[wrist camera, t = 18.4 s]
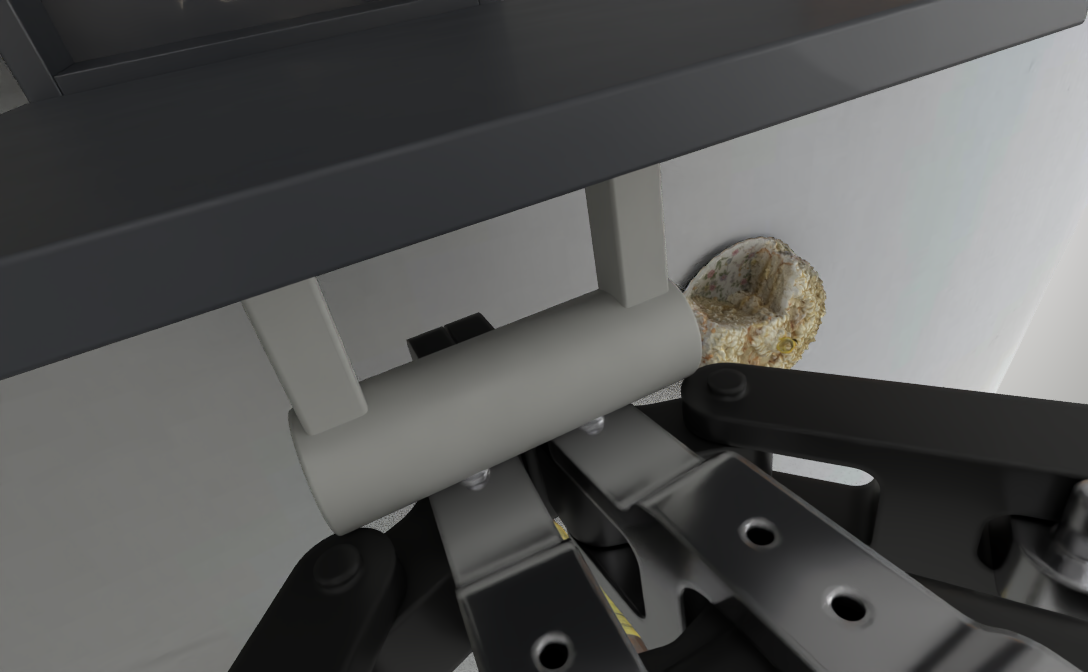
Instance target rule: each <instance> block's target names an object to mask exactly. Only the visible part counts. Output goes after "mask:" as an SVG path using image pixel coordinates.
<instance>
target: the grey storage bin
mask: <svg viewBox="0 0 1088 672" xmlns="http://www.w3.org/2000/svg"><path fill="white" fill-rule="evenodd" d="M497 1H502V0H0V54H1V56H2V57H3V59H4V61H5V62H6V64H7V66H8V67H9V69H10V71H11V72H12V74H13V76H14V77H15V79H16V81H17V82H18V84H19V86H20V87H21V89H22V91H23V92H24V94H25V96H26V97H27V99H28V101H29V102H30V103H32V102H37V101H41V100H46V99H51V98H55V97H60V96H64V95H69V94H74V93H78V92H83V91H87V90H92V89H97V88H101V87H106V86H110V85H115V84H120V83H124V82H129V81H133V80H138V79H143V78H147V77H152V76H156V75H161V74H166V73H170V72H175V71H179V70H184V69H189V68H193V67H198V66H202V65H207V64H212V63H216V62H221V61H225V60H230V59H235V58H239V57H244V56H248V55H253V54H258V53H262V52H267V51H271V50H276V49H281V48H285V47H290V46H294V45H299V44H304V43H308V42H313V41H317V40H322V39H327V38H331V37H336V36H340V35H345V34H350V33H354V32H359V31H364V30H368V29H373V28H377V27H382V26H387V25H391V24H396V23H400V22H405V21H410V20H414V19H419V18H423V17H428V16H433V15H437V14H442V13H446V12H451V11H456V10H460V9H465V8H469V7H474V6H479V5H483V4H488V3H492V2H497Z"/></svg>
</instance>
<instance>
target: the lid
mask: <svg viewBox="0 0 1088 672" xmlns="http://www.w3.org/2000/svg"><path fill="white" fill-rule="evenodd" d="M1087 11H1088V0H502V1H497V2H492V3H488V4H483V5H479V6H474V7H469V8H465V9H460V10H456V11H451V12H446V13H442V14H437V15H433V16H428V17H423V18H419V19H414V20H410V21H405V22H400V23H396V24H391V25H387V26H382V27H377V28H373V29H368V30H364V31H359V32H354V33H350V34H345V35H340V36H336V37H331V38H327V39H322V40H317V41H313V42H308V43H304V44H299V45H294V46H290V47H285V48H281V49H276V50H271V51H267V52H262V53H258V54H253V55H248V56H244V57H239V58H235V59H230V60H225V61H221V62H216V63H212V64H207V65H202V66H198V67H193V68H189V69H184V70H179V71H175V72H170V73H166V74H161V75H156V76H152V77H147V78H143V79H138V80H133V81H129V82H124V83H120V84H115V85H110V86H106V87H101V88H97V89H92V90H87V91H83V92H78V93H74V94H69V95H64V96H60V97H55V98H51V99H46V100H41V101H37V102H32V103H28V104H25V105H22V106H20V107H18V108H15V109H13V110H10V111H8V112H5V113H3V114H1V115H0V380H3V379H6V378H9V377H12V376H15V375H18V374H21V373H24V372H27V371H30V370H33V369H36V368H39V367H42V366H46V365H49V364H52V363H55V362H58V361H61V360H64V359H67V358H70V357H73V356H76V355H79V354H82V353H85V352H88V351H91V350H94V349H97V348H100V347H103V346H106V345H109V344H112V343H115V342H118V341H121V340H124V339H127V338H130V337H134V336H137V335H140V334H143V333H146V332H149V331H152V330H155V329H158V328H161V327H164V326H167V325H170V324H173V323H176V322H179V321H182V320H185V319H188V318H191V317H194V316H197V315H200V314H203V313H206V312H209V311H212V310H215V309H218V308H222V307H225V306H228V305H231V304H234V303H237V302H240V301H241V304H242V306H243V308H244V310H245V312H246V314H247V316H248V318H249V320H250V322H251V324H252V326H253V328H254V330H255V332H256V334H257V336H258V338H259V340H260V342H261V344H262V346H263V348H264V350H265V352H266V354H267V356H268V358H269V360H270V362H271V364H272V366H273V368H274V370H275V372H276V374H277V376H278V378H279V380H280V382H281V384H282V386H283V388H284V390H285V392H286V395H287V397H288V399H289V401H290V403H291V405H292V407H293V408H292V409H291V410H290V411H289V413H288V421H289V427H290V432H291V436H292V439H293V443H294V446H295V450H296V453H297V456H298V459H299V461H300V464H301V467H302V470H303V472H304V475H305V478H306V480H307V483H308V485H309V487H310V490H311V492H312V494H313V497H314V499H315V501H316V503H317V505H318V507H319V509H320V511H321V513H322V515H323V517H324V519H325V521H326V522H327V524H328V525H329V527H330V528H331V530H332V531H333V532H334V533H335V534H336V535H338V536H343V535H345V534H347V533H349V532H351V531H354V530H356V529H358V528H360V527H362V526H364V525H367V524H369V523H371V522H373V521H375V520H378V519H380V518H382V517H384V516H386V515H388V514H391V513H393V512H395V511H397V510H399V509H402V508H404V507H406V506H408V505H410V504H412V503H415V502H417V501H419V500H421V499H423V498H425V497H428V496H430V495H432V494H434V493H436V492H439V491H441V490H443V489H445V488H447V487H449V486H452V485H454V484H456V483H458V482H460V481H463V480H465V479H466V478H468V477H470V476H472V475H474V474H476V473H478V472H481V471H483V470H486V469H489V468H491V467H493V466H495V465H497V464H500V463H502V462H504V461H506V460H508V459H510V458H513V457H515V456H517V455H519V454H521V453H524V452H526V451H528V450H530V449H532V448H534V447H537V446H539V445H541V444H543V443H545V442H548V441H550V440H552V439H554V438H556V437H558V436H561V435H563V434H565V433H567V432H569V431H571V430H574V429H576V428H578V427H580V426H582V425H584V424H586V423H588V422H590V421H592V420H594V419H596V418H599V417H601V416H604V415H606V414H609V413H611V412H613V411H615V410H617V409H619V408H622V407H624V406H626V405H628V404H630V403H632V402H635V401H637V400H639V399H641V398H643V397H646V396H648V395H650V394H652V393H654V392H656V391H659V390H661V389H663V388H665V387H667V386H670V385H672V384H674V383H676V382H678V381H680V380H683V379H685V378H687V377H689V376H691V375H692V374H694V373H695V371H696V370H697V369H698V367H699V365H700V362H701V358H702V341H701V335H700V330H699V326H698V323H697V320H696V318H695V315H694V313H693V310H692V308H691V306H690V304H689V303H688V301H687V299H686V297H685V296H684V295H683V293H682V292H681V290H680V289H679V288H678V287H677V285H676V284H675V283H674V282H673V281H672V280H670V279H669V278H668V272H667V258H666V243H665V228H664V214H663V199H662V184H661V170H660V163H661V162H665V161H668V160H671V159H674V158H677V157H680V156H683V155H686V154H689V153H692V152H695V151H698V150H701V149H704V148H707V147H710V146H713V145H716V144H719V143H722V142H725V141H728V140H731V139H734V138H737V137H740V136H743V135H746V134H749V133H753V132H756V131H759V130H762V129H765V128H768V127H771V126H774V125H777V124H780V123H783V122H786V121H789V120H792V119H795V118H798V117H801V116H804V115H807V114H810V113H813V112H816V111H819V110H822V109H825V108H828V107H831V106H834V105H837V104H841V103H844V102H847V101H850V100H853V99H856V98H859V97H862V96H865V95H868V94H871V93H874V92H877V91H880V90H883V89H886V88H889V87H892V86H895V85H898V84H901V83H904V82H907V81H910V80H913V79H916V78H919V77H922V76H925V75H929V74H932V73H935V72H938V71H941V70H944V69H947V68H950V67H953V66H956V65H959V64H962V63H965V62H968V61H971V60H974V59H977V58H980V57H983V56H986V55H989V54H992V53H995V52H998V51H1001V50H1004V49H1007V48H1010V47H1013V46H1017V45H1020V44H1023V43H1026V42H1029V41H1032V40H1035V39H1038V38H1041V37H1044V36H1047V35H1050V34H1053V33H1056V32H1059V31H1062V30H1065V29H1068V28H1071V27H1074V26H1077V25H1080V24H1082V23H1083V22H1084V20H1085V19H1086V15H1087ZM583 188H585V193H586V200H587V207H588V214H589V222H590V229H591V236H592V244H593V251H594V258H595V266H596V273H597V280H598V287H599V289H597V290H595V291H592V292H590V293H587V294H584V295H582V296H579V297H577V298H574V299H572V300H569V301H566V302H564V303H561V304H559V305H556V306H553V307H551V308H548V309H546V310H543V311H541V312H538V313H535V314H533V315H530V316H528V317H525V318H523V319H520V320H517V321H515V322H512V323H510V324H507V325H504V326H502V327H499V328H497V329H494V330H492V331H489V332H486V333H484V334H481V335H479V336H476V337H474V338H471V339H468V340H466V341H463V342H461V343H458V344H456V345H453V346H450V347H448V348H445V349H443V350H440V351H437V352H435V353H432V354H430V355H427V356H425V357H422V358H419V359H417V360H414V361H412V362H409V363H407V364H404V365H401V366H399V367H396V368H394V369H391V370H388V371H386V372H383V373H381V374H378V375H376V376H373V377H370V378H368V379H365V380H363V381H360V382H359V381H358V379H357V377H356V374H355V372H354V369H353V367H352V364H351V362H350V359H349V357H348V355H347V352H346V350H345V347H344V345H343V342H342V340H341V337H340V335H339V333H338V330H337V328H336V325H335V323H334V320H333V318H332V316H331V313H330V311H329V308H328V306H327V303H326V301H325V298H324V296H323V294H322V291H321V289H320V286H319V284H318V281H317V279H316V276H319V275H322V274H325V273H328V272H331V271H334V270H337V269H340V268H343V267H346V266H349V265H352V264H355V263H358V262H361V261H364V260H367V259H370V258H373V257H376V256H379V255H382V254H385V253H388V252H391V251H394V250H398V249H401V248H404V247H407V246H410V245H413V244H416V243H419V242H422V241H425V240H428V239H431V238H434V237H437V236H440V235H443V234H446V233H449V232H452V231H455V230H458V229H461V228H464V227H467V226H470V225H473V224H476V223H479V222H482V221H486V220H489V219H492V218H495V217H498V216H501V215H504V214H507V213H510V212H513V211H516V210H519V209H522V208H525V207H528V206H531V205H534V204H537V203H540V202H543V201H546V200H549V199H552V198H555V197H558V196H561V195H564V194H567V193H570V192H573V191H577V190H580V189H583Z"/></svg>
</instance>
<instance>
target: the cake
mask: <svg viewBox="0 0 1088 672" xmlns="http://www.w3.org/2000/svg"><path fill="white" fill-rule="evenodd" d="M822 283H823V281H822V280H821V279H820V278H819V277H818V272H817V271H815V270H813V267H812V266H810V263H808V262H807V261H805V260H802V259H801V257H798V256H796V254H795V253H794V251H792V249H790V248H789V246H788V245H787V244H785V243H783V242H782V241H781V240H779V239H778V240H777V239H774V237H767V238H765V237H761V236H760V237H757V238H749V239H747V240H745V241H743V242H739V243H736V244H734V245H733V246H731V247H729V248H726V249H725V250H724V251H723V252H722V253H720V254H719V255H717V256H715V257H714V258H713V259H711V261H710V262H709V264H707V265H706V266H704V267H703V269H701V270H700V271H699V273H698V274H697V276H696V277H695V278H694V279H693V280H691V282H690V283H689V285H688V287H687V289H686V290H684V292H683V295H684V296H685V297H686V299H687V301H688V303H689V304H690V306H691V308H692V310H693V313H694V315H695V318H696V320H697V323H698V326H699V330H700V335H701V341H702V358H701V362H700V365H699V367H698V368H700V367H703V366H705V365H709V364H714V363H726V362H729V363H741V364H749V365H758V366H766V367H775V368H783V369H790V368H791V367H793V366H794V365H795V364H796V363H797V362H798V360H800V359H802V356H801V354H803V353H804V350H805V349H806V350H808V344H809V343H810V342H814V341H816V340H815V338H814V337H815V335H816V334H817V330H818V329H819V325H820V324H821V323H822V322H821V320H820V319H821V317H823V316H824V315H825V314H826V312H825V306H824V305H825V303H824V301H825V299H826V296H825V294H826V292H825V291H824V290H823V285H822Z"/></svg>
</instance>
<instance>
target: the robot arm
mask: <svg viewBox="0 0 1088 672" xmlns="http://www.w3.org/2000/svg"><path fill="white" fill-rule="evenodd" d="M492 330H494V328H493V326H492V325H491V324H490V323H489V322H488V321H487V320H486V319H485V318H484V316H483V315H482V314H481V313H479V312H478V313H475V314H473V315H470V316H467V317H465V318H462V319H460V320H457V321H454V322H452V323H449V324H446V325H444V327H442V326H441V327H439V328H436V329H433V330H431V331H428V332H426V333H423V334H420V335H418V336H415V337H412V338H410V339H407V345H408V348H409V351H410V354H411V357H412V360H413V361H414V360H417V359H419V358H422V357H425V356H427V355H430V354H432V353H435V352H437V351H440V350H443V349H445V348H448V347H450V346H453V345H456V344H458V343H461V342H463V341H466V340H468V339H471V338H474V337H476V336H479V335H481V334H484V333H486V332H489V331H492ZM773 453H774V454H780V455H785V456H791V457H796V458H802V459H808V460H813V461H819V462H824V463H830V464H835V465H841V466H847V467H852V468H857V469H860V470H863V471H865V472H867V473H868V474H870V475H871V476H873V477H874V479H873V480H872V481H871V482H870V483H868V484H865V485H862V486H850V485H845V484H839V483H834V482H829V481H824V480H819V479H813V478H808V477H803V476H798V475H793V474H787V473H782V472H777V471H772V458H773ZM557 517H559V518H560V519H561V521H562V522H563V524H564V525H565V526H566V528H567V533H568V537H569V538H567V539H565V540H563V538H562V537H561V535H560V533H559V531H558V529H557V527H556V526H555V524H554V522H553V519H555V518H557ZM600 587H601V588H602V589H601V588H600ZM602 590H603V591H604V592H605V593H606V595H607V596H608V597H609V598H610V600H611V601H612V602H613V603H614V605H615V606H616V607H617V608H618V609H619V611H620V612H621V613H622V614H623V616H624V617H625V618H626V619H627V621H628V622H629V623H630V624H631V626H632V627H633V628H634V629H635V631H636V632H637V633H638V635H639V636H640V638H641V639H642V641H643V642H644V644H645V646H646V648H647V649H648V651H644V652H641V653H638V654H637V652H636V650H635V648H634V646H633V645H632V643H631V641H630V639H629V637H628V636H627V634H626V632H625V630H624V629H623V627H622V625H621V623H620V621H619V620H618V618H617V616H616V614H615V613H614V611H613V609H612V607H611V605H610V604H609V602H608V600H607V598H606V596H605V595H604V593H603V591H602ZM472 651H473V654H474V657H475V660H476V664H477V667H478V670H479V672H1088V404H1080V403H1071V402H1063V401H1054V400H1046V399H1037V398H1028V397H1020V396H1011V395H1003V394H995V393H986V392H978V391H969V390H961V389H953V388H944V387H936V386H927V385H919V384H910V383H902V382H893V381H885V380H876V379H868V378H859V377H851V376H842V375H834V374H825V373H817V372H808V371H800V370H792V369H783V368H775V367H766V366H758V365H749V364H741V363H729V362H726V363H714V364H709V365H705V366H703V367H700V368H698V369H697V370H696V371H695V373H694V374H692V375H691V376H689V377H687V378H685V379H684V381H683V382H682V386H681V398H679V399H674V400H669V401H664V402H659V403H654V404H648V405H640V406H634V405H632V404H631V403H630V404H628V405H626V406H624V407H622V408H619V409H617V410H615V411H613V412H611V413H609V414H606V415H604V416H601V417H599V418H596V419H594V420H592V421H590V422H588V423H586V424H584V425H582V426H580V427H578V428H576V429H574V430H571V431H569V432H567V433H565V434H563V435H561V436H558V437H556V438H554V439H552V440H550V441H548V442H545V443H543V444H541V445H539V446H537V447H534V448H532V449H530V450H528V451H526V452H524V453H521V454H519V455H517V456H515V457H513V458H510V459H508V460H506V461H504V462H502V463H500V464H497V465H495V466H493V467H491V468H489V469H486V470H483V471H481V472H478V473H476V474H474V475H472V476H470V477H468V478H466V479H465V480H463V481H460V482H458V483H456V484H454V485H452V486H449V487H447V488H445V489H443V490H441V491H439V492H436V493H434V494H432V495H430V496H428V497H425V498H423V499H421V500H419V501H417V503H416V504H415V505H414V507H413V508H412V510H411V511H410V512H409V513H408V514H407V515H406V516H405V517H404V518H403V519H402V520H401V521H399V522H398V523H397V524H396V525H395V526H393V527H392V528H391V529H389V530H388V531H387V532H386V533H382V532H381V531H378V530H375V529H371V528H358V529H356V530H354V531H351V532H349V533H347V534H345V535H343V536H338V535H336V534H334V535H331V536H329V537H328V538H326V539H324V540H322V541H321V542H319V543H318V544H316V545H315V546H314V547H313V548H311V549H310V550H309V551H308V552H307V553H306V554H305V555H304V556H303V557H302V558H301V559H300V561H299V562H298V563H297V565H296V566H295V567H294V569H293V570H292V572H291V574H290V575H289V577H288V578H287V580H286V581H285V583H284V585H283V586H282V588H281V589H280V591H279V592H278V594H277V596H276V597H275V599H274V600H273V602H272V603H271V605H270V607H269V608H268V610H267V611H266V613H265V614H264V616H263V617H262V619H261V621H260V622H259V624H258V625H257V627H256V628H255V630H254V632H253V633H252V635H251V636H250V638H249V639H248V641H247V643H246V644H245V646H244V647H243V649H242V650H241V652H240V654H239V655H238V657H237V658H236V660H235V661H234V663H233V664H232V666H231V668H230V669H229V671H228V672H453V671H454V670H455V669H456V668H457V667H458V666H459V665H460V664H461V663H462V662H463V661H464V660H465V659H466V658H467V656H468V655H469V654H470V653H471V652H472Z"/></svg>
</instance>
